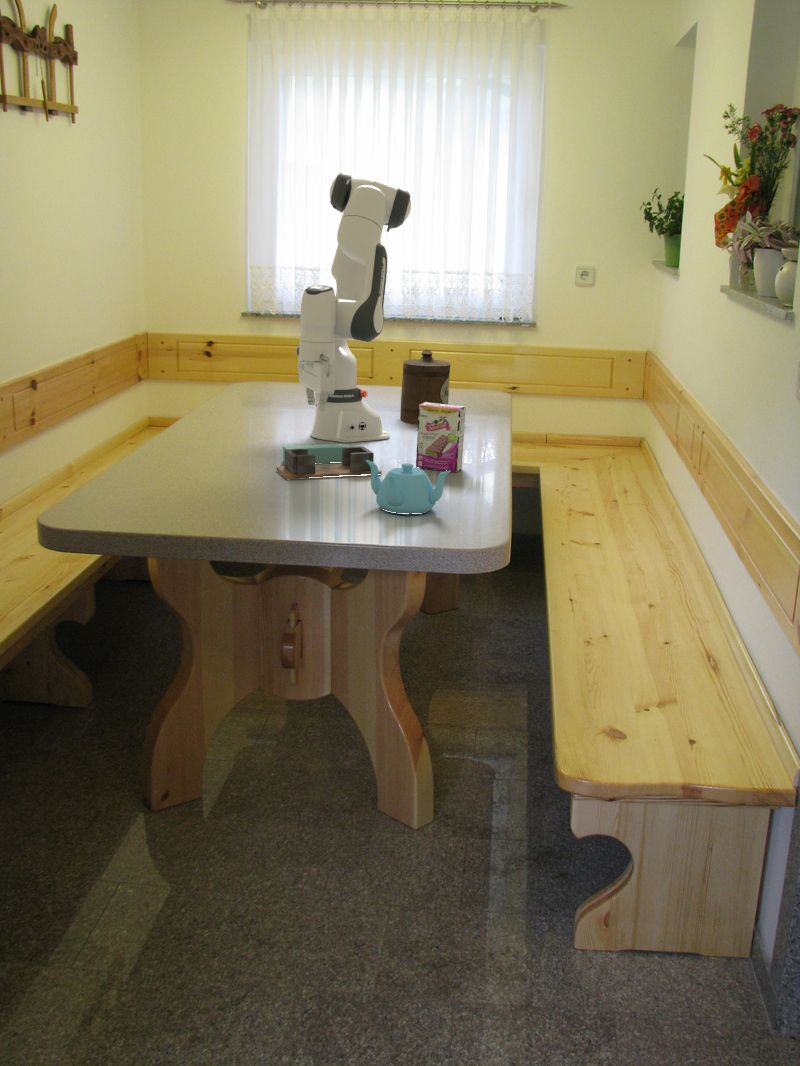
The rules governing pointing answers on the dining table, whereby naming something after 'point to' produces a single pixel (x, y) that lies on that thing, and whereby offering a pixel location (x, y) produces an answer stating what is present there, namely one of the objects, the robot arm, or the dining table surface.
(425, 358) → the wooden container
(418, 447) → the candy bar box
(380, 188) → the robot arm
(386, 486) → the teapot
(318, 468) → the sharpening stone holder
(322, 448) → the slat
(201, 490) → the dining table surface
